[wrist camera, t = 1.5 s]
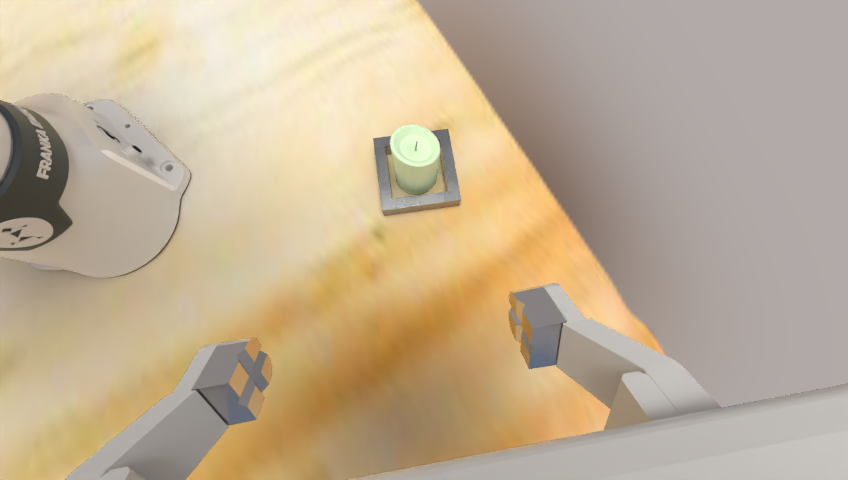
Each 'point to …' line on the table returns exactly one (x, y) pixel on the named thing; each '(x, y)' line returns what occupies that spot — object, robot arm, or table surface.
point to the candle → (415, 158)
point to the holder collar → (420, 201)
